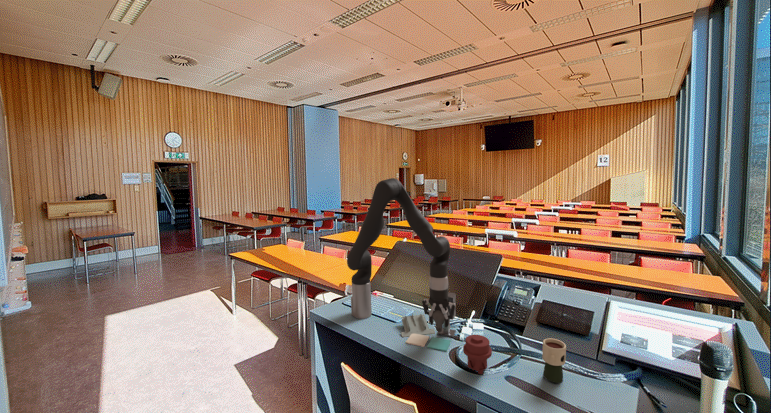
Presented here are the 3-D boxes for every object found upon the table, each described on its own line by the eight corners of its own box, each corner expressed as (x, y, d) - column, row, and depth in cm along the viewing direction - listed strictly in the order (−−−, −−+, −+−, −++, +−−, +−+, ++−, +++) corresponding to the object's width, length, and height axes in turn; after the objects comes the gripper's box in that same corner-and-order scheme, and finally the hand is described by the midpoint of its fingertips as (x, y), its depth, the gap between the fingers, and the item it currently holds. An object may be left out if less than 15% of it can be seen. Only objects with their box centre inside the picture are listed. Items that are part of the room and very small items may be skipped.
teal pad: (427, 347, 138) (427, 346, 138) (432, 338, 145) (432, 336, 145) (446, 351, 135) (446, 350, 135) (451, 341, 142) (451, 340, 142)
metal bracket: (396, 313, 158) (427, 309, 160) (396, 322, 160) (426, 319, 162) (402, 336, 145) (436, 332, 147) (402, 346, 147) (435, 342, 149)
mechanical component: (457, 369, 123) (472, 357, 130) (482, 381, 116) (496, 368, 123) (457, 338, 122) (472, 327, 128) (482, 348, 114) (497, 337, 121)
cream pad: (405, 343, 142) (405, 342, 142) (412, 334, 149) (412, 332, 149) (423, 346, 139) (423, 345, 139) (429, 337, 146) (429, 336, 146)
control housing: (437, 334, 148) (436, 295, 145) (440, 328, 153) (440, 290, 150) (453, 337, 145) (453, 297, 143) (455, 331, 150) (455, 293, 148)
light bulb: (431, 334, 137) (431, 311, 136) (433, 328, 143) (433, 305, 141) (445, 336, 136) (445, 312, 134) (446, 329, 141) (446, 306, 140)
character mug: (563, 391, 110) (565, 354, 108) (539, 384, 114) (540, 348, 112) (565, 373, 119) (567, 338, 118) (543, 367, 123) (544, 333, 121)
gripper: (418, 287, 136) (419, 326, 138) (454, 291, 130) (454, 332, 132) (424, 280, 143) (425, 318, 145) (458, 285, 137) (458, 324, 139)
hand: (439, 325), depth 139 cm, fingers closed on light bulb, 5 cm apart
